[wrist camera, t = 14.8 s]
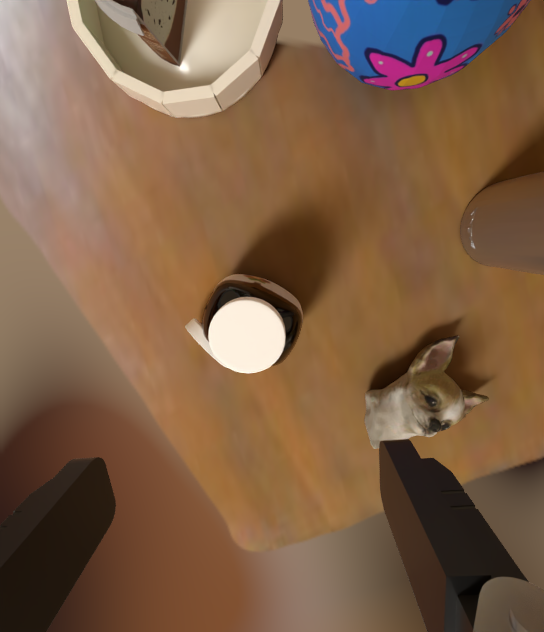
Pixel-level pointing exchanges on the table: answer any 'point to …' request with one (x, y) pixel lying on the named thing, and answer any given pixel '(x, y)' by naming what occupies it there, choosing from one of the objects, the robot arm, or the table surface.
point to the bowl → (187, 54)
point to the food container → (152, 23)
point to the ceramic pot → (410, 36)
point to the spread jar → (248, 323)
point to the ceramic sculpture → (419, 398)
